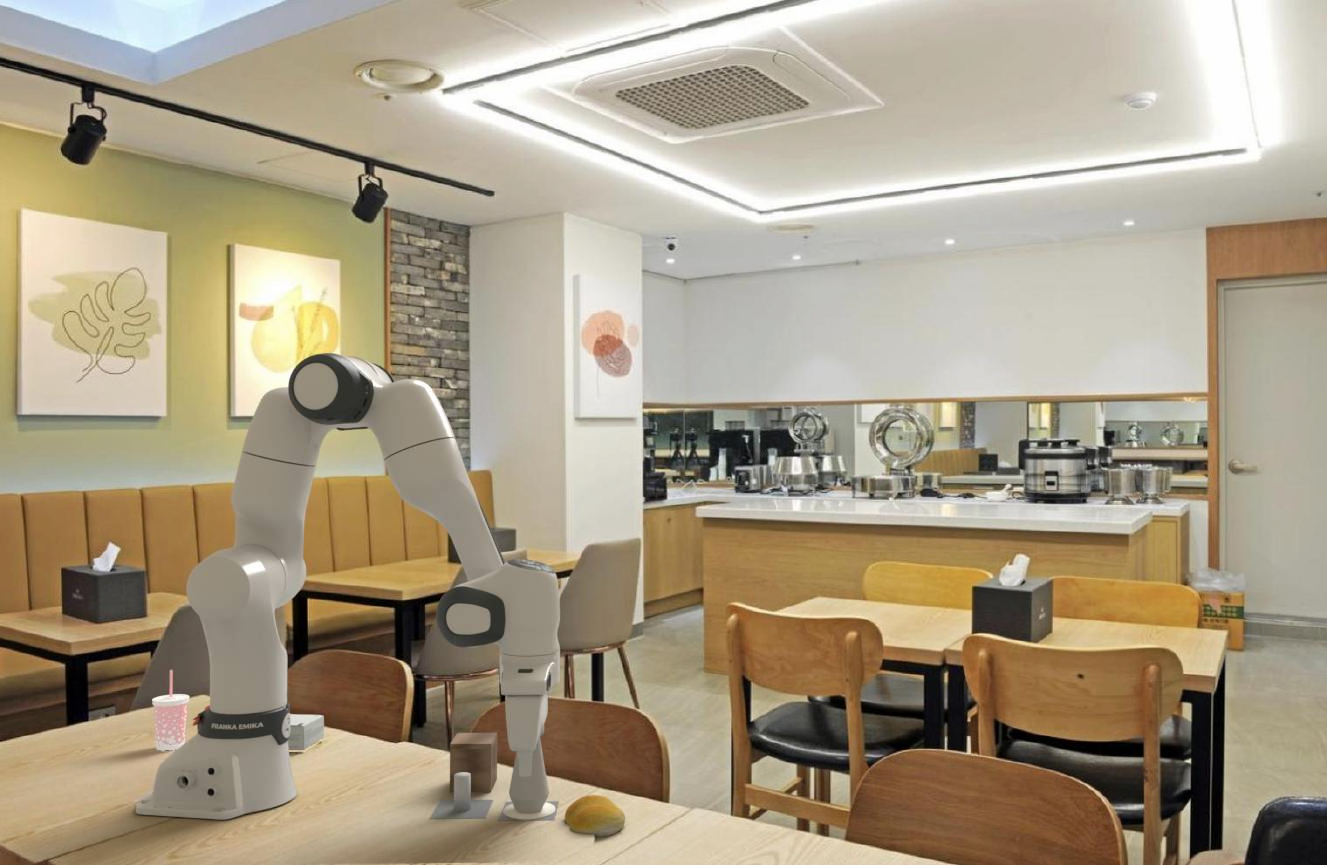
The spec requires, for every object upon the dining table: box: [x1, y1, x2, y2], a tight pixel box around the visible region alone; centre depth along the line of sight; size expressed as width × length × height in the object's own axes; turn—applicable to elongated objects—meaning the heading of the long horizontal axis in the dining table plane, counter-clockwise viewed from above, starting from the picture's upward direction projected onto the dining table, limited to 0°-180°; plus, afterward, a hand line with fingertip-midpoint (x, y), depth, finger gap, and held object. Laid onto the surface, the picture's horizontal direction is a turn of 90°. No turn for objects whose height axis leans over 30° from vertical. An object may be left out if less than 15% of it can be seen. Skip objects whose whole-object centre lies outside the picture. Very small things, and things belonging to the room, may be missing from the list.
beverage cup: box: [151, 669, 190, 752], centre depth 185 cm, size 6×6×14 cm
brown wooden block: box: [449, 732, 498, 793], centre depth 161 cm, size 6×6×8 cm
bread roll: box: [564, 794, 626, 838], centre depth 144 cm, size 8×9×4 cm
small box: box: [288, 713, 325, 750], centre depth 185 cm, size 8×8×5 cm
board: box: [429, 772, 494, 820], centre depth 150 cm, size 8×8×6 cm
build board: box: [498, 800, 560, 822], centre depth 149 cm, size 8×8×1 cm
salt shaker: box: [508, 721, 550, 813], centre depth 149 cm, size 6×6×13 cm
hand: (529, 765), depth 149 cm, fingers open, 8 cm apart
